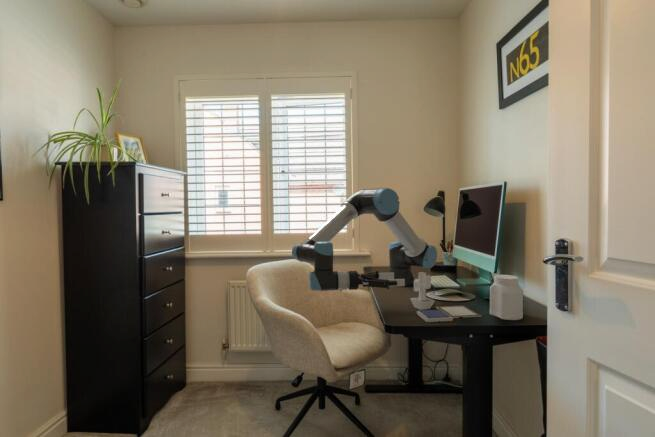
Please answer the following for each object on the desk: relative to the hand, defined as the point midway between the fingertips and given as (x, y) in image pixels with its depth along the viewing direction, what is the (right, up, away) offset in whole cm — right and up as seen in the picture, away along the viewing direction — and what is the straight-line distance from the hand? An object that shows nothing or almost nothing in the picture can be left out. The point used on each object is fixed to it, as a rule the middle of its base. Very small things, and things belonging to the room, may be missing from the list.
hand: (398, 279), depth 146 cm
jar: (+40, -13, -9) cm, 42 cm away
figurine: (+10, -13, +2) cm, 16 cm away
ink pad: (+12, -13, -10) cm, 20 cm away
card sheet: (+23, -13, -4) cm, 26 cm away
